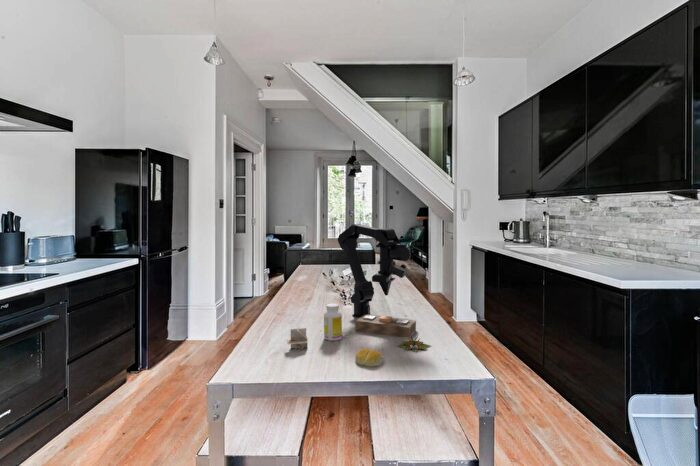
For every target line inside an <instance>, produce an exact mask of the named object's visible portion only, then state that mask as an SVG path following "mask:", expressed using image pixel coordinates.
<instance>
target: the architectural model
mask: <svg viewBox="0 0 700 466" xmlns="http://www.w3.org/2000/svg"><path fill="white" fill-rule="evenodd" d="M308 342H309V341H308V335H307V327H303V328H291V329H290V339H287V340H286V343H287V345H290V349H291V348H295V349H300V350H301V349H305V348H304V347H307V348H306V350H308V349H309V347H308Z"/></svg>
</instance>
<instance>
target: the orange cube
mask: <svg viewBox="0 0 700 466" xmlns="http://www.w3.org/2000/svg"><path fill="white" fill-rule="evenodd" d="M381 316H382V317H380V318H379V322H387V323H390V322H391V321H392V318H393V316H390V315H389V316H388V315H381Z"/></svg>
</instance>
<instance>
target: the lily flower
mask: <svg viewBox="0 0 700 466" xmlns="http://www.w3.org/2000/svg"><path fill="white" fill-rule="evenodd" d="M409 335H410V334H409ZM418 337H419V335H417V334H415V336H414V335H412V336H409V339H408V340H403V341H401V343H400V344H398V345H397V347H401V348H403V351H407V350H411V351H413V352H415V353H416V354H417V353H419V352H420V351H421V349H422V350H426V351H429V350H428V348H427V347H431V345H430V344H427V343H424V342H423V341H420V339H419V338H418ZM417 339H418V340H417ZM412 346H413V347H412ZM415 348H416V349H415Z"/></svg>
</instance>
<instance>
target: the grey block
mask: <svg viewBox="0 0 700 466" xmlns="http://www.w3.org/2000/svg"><path fill="white" fill-rule="evenodd" d="M403 319H404V318H400V319H399V320H398V321H397V322H396V324H402V325H407V324H408V323H409V320H410V319H408V320H403Z"/></svg>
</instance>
